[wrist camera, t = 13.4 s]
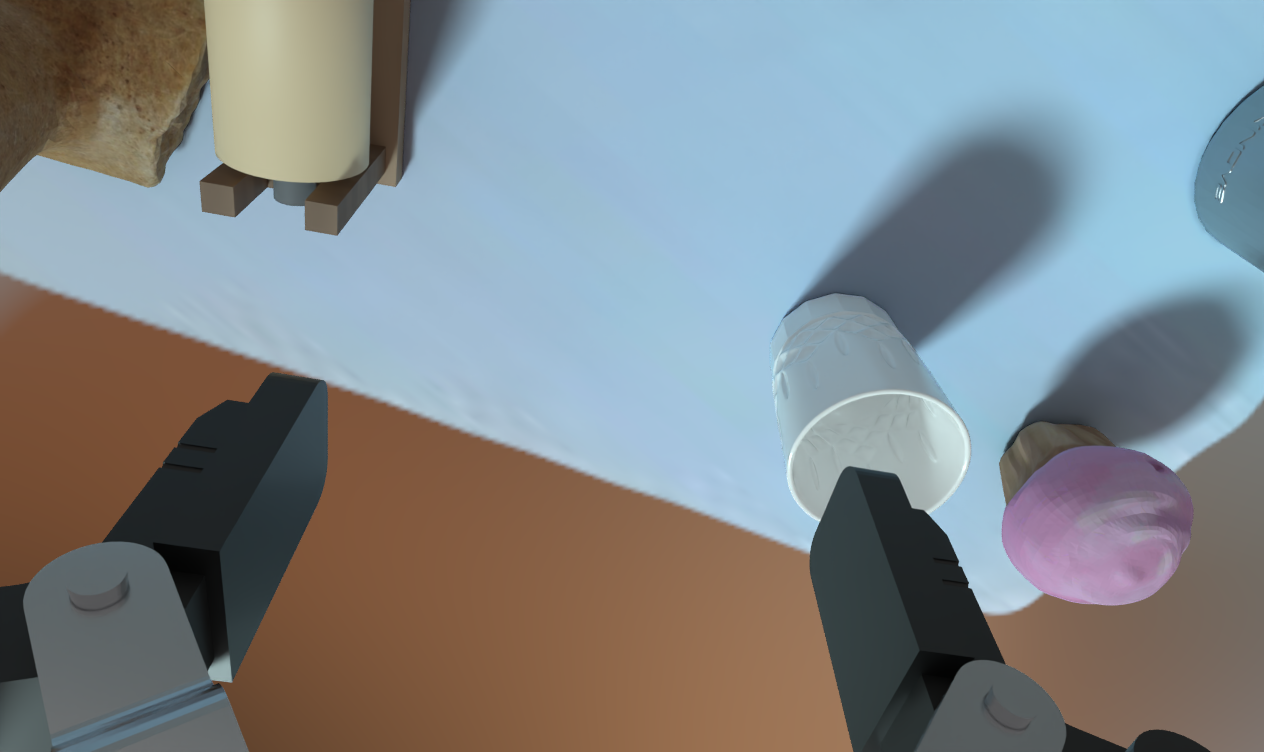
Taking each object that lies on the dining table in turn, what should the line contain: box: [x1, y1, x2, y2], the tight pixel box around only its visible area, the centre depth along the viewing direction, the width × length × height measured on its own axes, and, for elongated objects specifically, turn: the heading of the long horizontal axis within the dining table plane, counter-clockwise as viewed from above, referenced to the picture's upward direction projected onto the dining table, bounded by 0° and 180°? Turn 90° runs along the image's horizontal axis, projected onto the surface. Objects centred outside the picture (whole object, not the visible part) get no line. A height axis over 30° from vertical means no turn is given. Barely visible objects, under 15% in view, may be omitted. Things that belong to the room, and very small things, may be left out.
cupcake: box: [999, 421, 1193, 605], centre depth 44 cm, size 9×9×10 cm
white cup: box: [770, 293, 971, 522], centre depth 40 cm, size 8×8×10 cm
